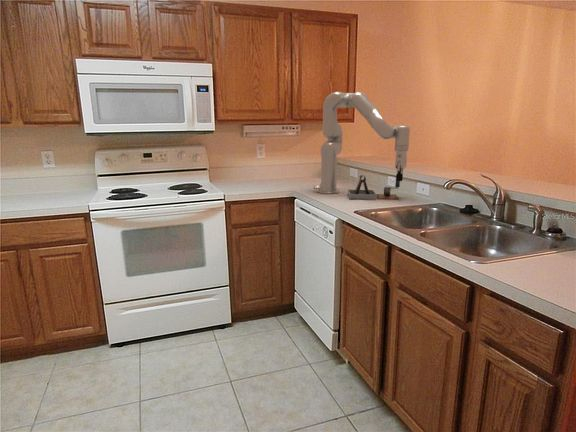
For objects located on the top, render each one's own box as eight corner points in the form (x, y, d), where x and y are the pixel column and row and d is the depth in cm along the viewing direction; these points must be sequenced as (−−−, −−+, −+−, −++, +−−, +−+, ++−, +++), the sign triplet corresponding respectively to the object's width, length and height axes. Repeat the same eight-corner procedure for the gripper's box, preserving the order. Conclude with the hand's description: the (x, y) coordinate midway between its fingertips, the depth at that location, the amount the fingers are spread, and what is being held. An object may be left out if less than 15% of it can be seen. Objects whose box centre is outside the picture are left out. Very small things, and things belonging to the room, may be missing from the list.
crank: (385, 196, 225) (386, 175, 222) (382, 195, 228) (383, 175, 225) (400, 195, 227) (401, 175, 224) (397, 194, 230) (398, 174, 228)
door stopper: (354, 196, 226) (355, 176, 223) (353, 195, 232) (354, 174, 229) (370, 197, 225) (371, 176, 222) (369, 195, 231) (370, 175, 228)
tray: (349, 199, 221) (349, 194, 220) (347, 194, 237) (347, 189, 236) (376, 200, 220) (376, 194, 219) (372, 194, 236) (373, 190, 235)
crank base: (377, 199, 222) (377, 197, 222) (374, 195, 233) (375, 193, 233) (399, 199, 221) (399, 197, 221) (395, 195, 232) (395, 193, 232)
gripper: (406, 149, 211) (403, 183, 215) (410, 147, 224) (408, 179, 228) (392, 148, 214) (390, 182, 218) (396, 147, 227) (395, 178, 231)
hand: (399, 180), depth 223 cm, fingers closed
